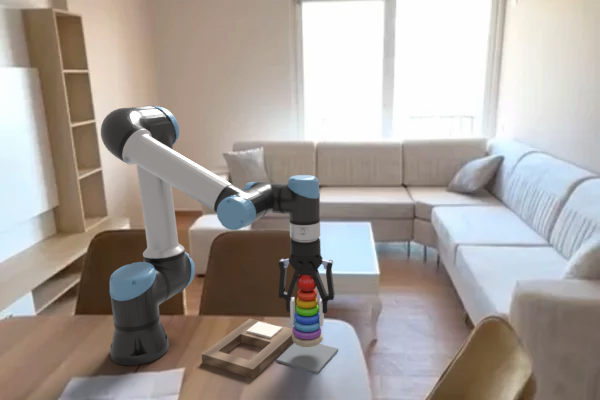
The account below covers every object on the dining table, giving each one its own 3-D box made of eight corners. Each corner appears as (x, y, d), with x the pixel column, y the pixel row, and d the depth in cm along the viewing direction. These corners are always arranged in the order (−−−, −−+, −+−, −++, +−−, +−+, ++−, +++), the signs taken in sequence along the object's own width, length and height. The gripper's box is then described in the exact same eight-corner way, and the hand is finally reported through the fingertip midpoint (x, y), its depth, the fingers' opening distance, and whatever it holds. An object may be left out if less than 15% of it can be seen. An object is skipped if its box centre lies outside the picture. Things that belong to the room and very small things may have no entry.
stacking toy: (320, 349, 124) (318, 280, 120) (289, 347, 126) (286, 278, 122) (324, 334, 132) (323, 268, 127) (295, 332, 133) (293, 266, 129)
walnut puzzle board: (202, 362, 128) (201, 351, 127) (250, 326, 147) (250, 316, 146) (253, 378, 120) (252, 367, 120) (297, 338, 139) (297, 328, 138)
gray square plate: (276, 361, 128) (276, 359, 127) (298, 340, 138) (298, 338, 138) (317, 373, 122) (317, 371, 122) (338, 350, 132) (338, 348, 132)
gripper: (262, 241, 120) (266, 328, 126) (343, 243, 117) (344, 332, 122) (269, 232, 128) (272, 314, 133) (346, 234, 124) (346, 318, 130)
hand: (307, 323), depth 128 cm, fingers closed on stacking toy, 7 cm apart
